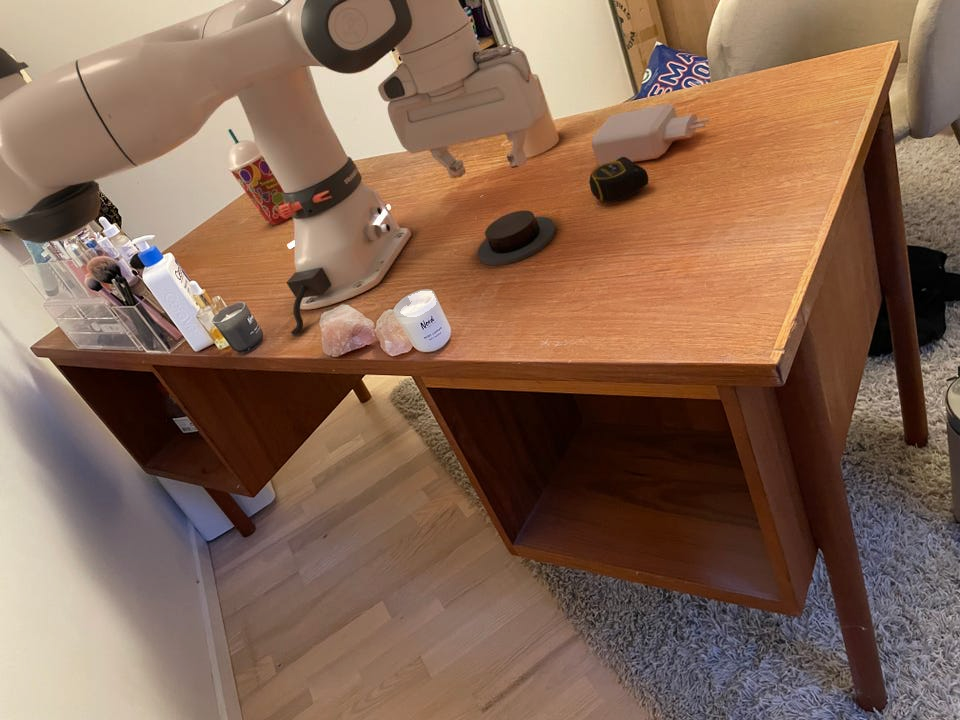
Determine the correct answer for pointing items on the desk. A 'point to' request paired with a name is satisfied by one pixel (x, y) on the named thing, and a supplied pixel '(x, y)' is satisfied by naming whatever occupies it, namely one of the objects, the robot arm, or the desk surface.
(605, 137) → the charger
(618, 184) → the tape measure
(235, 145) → the smoothie
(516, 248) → the lid
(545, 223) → the coaster
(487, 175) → the desk surface
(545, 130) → the jar
